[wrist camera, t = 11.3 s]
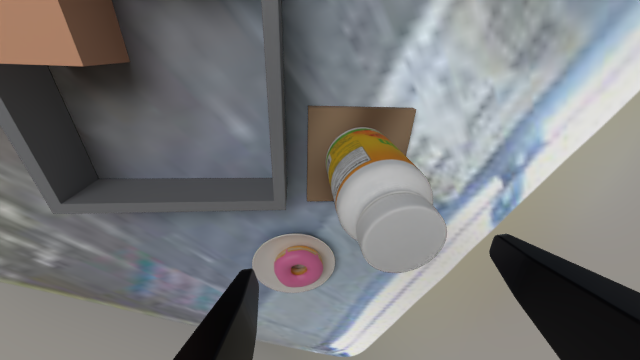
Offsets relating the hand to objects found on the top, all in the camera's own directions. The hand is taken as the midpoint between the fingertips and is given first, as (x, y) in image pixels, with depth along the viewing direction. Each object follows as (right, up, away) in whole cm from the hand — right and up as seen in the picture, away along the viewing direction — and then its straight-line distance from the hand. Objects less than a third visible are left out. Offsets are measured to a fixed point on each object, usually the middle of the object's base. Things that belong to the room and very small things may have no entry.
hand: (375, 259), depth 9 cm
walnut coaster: (+1, +5, +11) cm, 12 cm away
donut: (-6, -5, +17) cm, 18 cm away
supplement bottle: (+1, +5, +11) cm, 12 cm away
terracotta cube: (-16, +12, +6) cm, 21 cm away
